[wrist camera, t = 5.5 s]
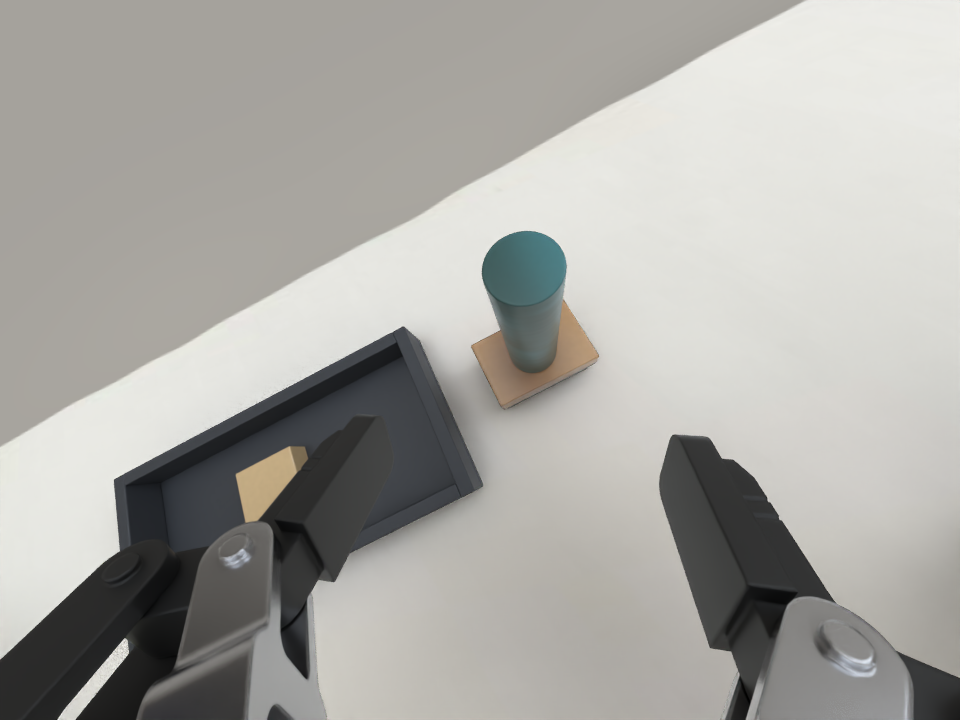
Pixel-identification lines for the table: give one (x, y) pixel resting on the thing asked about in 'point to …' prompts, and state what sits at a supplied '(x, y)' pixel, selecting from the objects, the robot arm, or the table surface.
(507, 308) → the rubber stamp
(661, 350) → the table surface
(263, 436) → the tray
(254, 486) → the tan square block
